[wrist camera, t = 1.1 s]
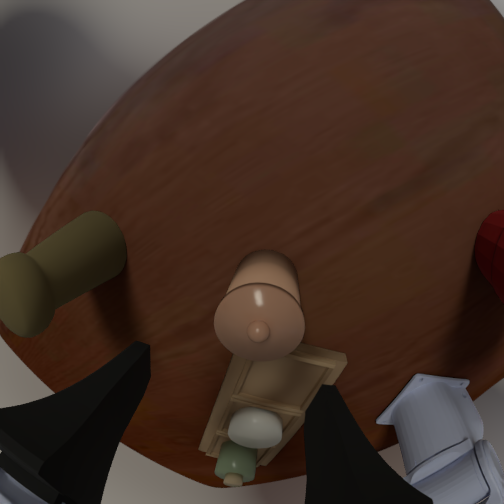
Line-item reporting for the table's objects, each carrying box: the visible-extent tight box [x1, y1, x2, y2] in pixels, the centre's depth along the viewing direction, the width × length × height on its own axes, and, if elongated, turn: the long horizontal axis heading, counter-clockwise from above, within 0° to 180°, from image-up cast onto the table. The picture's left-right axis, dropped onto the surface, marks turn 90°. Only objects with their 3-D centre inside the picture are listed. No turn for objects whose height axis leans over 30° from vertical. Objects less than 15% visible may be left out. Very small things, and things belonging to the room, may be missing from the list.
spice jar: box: [214, 250, 305, 361], centre depth 17 cm, size 5×5×7 cm
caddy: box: [198, 343, 347, 467], centre depth 24 cm, size 9×21×2 cm, turn 163°
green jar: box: [215, 440, 258, 487], centre depth 24 cm, size 4×4×5 cm
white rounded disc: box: [228, 407, 283, 448], centre depth 23 cm, size 5×5×2 cm
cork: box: [0, 211, 127, 337], centre depth 15 cm, size 6×6×11 cm
